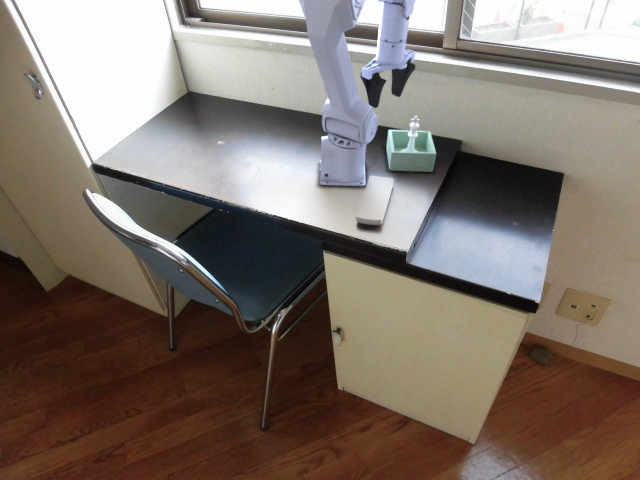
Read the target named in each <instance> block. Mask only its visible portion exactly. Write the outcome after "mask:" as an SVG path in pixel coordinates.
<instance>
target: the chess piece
mask: <svg viewBox="0 0 640 480" xmlns="http://www.w3.org/2000/svg"><path fill="white" fill-rule="evenodd" d="M420 120H421V119H420V118H418V115H414V117H413V118H412V117H411V122H410V123H409V130H411V132H409V133H408V136H409V137H410V140H409V143H408V146H407V148H406V149H402V150H401V151H413V152H418V151H417V150H415V149H414V141H415V138H416V137H417V136H418V134H417V133H416V131H418V130H419V128H420V124H419V123H418V122H421V121H420Z"/></svg>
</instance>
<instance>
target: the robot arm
mask: <svg viewBox="0 0 640 480" xmlns="http://www.w3.org/2000/svg"><path fill="white" fill-rule="evenodd" d="M298 2H299V6H300V8H301V9H300V10H301V12H302V15H303V17H304V18H305V24H306V30H307V31H306V32H307V37H308V41H309V43H310V46H311V51H312V53H313V56H314V60H315V62H316V66H317V68H318V71H319V73H320V74H319V75H320V77H321V80H322V83H323V87H324V89H325V92H326V96H327V99H326V100H325V102H324V103H323V106H322V108H321V111H320V114H321V125H322V130H323V131H324V132H325V133H327V135H324V136H321V140H320V141H321V142H320V161H318V162H319V163H318V169H319V171H320V180H319V181H320V182H319V183H320V185H321V186H339V187H340V186H343V187H344V186H345V187H366V186H367V179H366V165H365V164H366V163H365V162H366V152H367V145H368V144H369V143H371V142H372V141H373V139H374V138H375V136H376V133H377V131H378V126H379V118H378V114H377V113H376V112H374V109H377V108H379V105H380V101H381V96H382V92H383V89H384V87H385V84H386V82H387V80H386V79H385V78H383V77H381V75H380V74H381V73H383V72H385V71H391V90H390V91H391V95H393V96H395V97H397V98H400V97H401V96H402V94H403V92H404V89H405V87H406V84H407V82H408V80H409V78H410V77H411V76H412V74H413V73H414V71H415V70H416V67H417V66H416V64H415V63H414V61H415V57H416V51H414V50H413V49H409V48H407V49H406V46H407V39H408V32H409V25H410V16H411V15H412V14H413V12H414V8H415V3H416V0H377V2H378V3H380V15H379V24H378V33H377V42H376V43H377V45H376V53H375V54H376V55H375V57H374V58H373V59H372V60H371V61H369V63H367V64H366V65H365V66H363V67H362V68H361V72H360V79H361V81H362V83H363V85H364V88H365V92H366V95H367V96H366V97H367V101H365V100H364V99H362V97H360V94H359V91H358V86H357V81H356V78H355V74H354V73H355V72H354V69H353V65H352V61H351V56H350V51H349V48H348V43H347V39H346V35H345V32H347V31H350V30H353V29H354V28H355V27H356V25H357V22H358V20H359V18H360V16H361V13H362V10H363V7H364V5H365V2H366V0H298ZM412 62H413V63H412ZM373 108H374V109H373Z"/></svg>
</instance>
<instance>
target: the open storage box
mask: <svg viewBox="0 0 640 480" xmlns="http://www.w3.org/2000/svg"><path fill="white" fill-rule="evenodd" d="M387 130H388V131H387V138H386V146H385V148H386V155H387V163H388V171H393V172H394V171H395V172H421V173H422V172H423V173H425V172H426V173H432V172H433V171H434V166H435V162H436V159H437V158H436V157H437V151H436V148H435V144H434V140H433V136H432V132H431V130H417V131H416V133H417V134H418V136H417V137H416V138H415V141H414V149H415V150H417V151H418V152H413V151H401V150H402V149H406V148H407V146H408V143H409V140H410V137H409V136H408V133H409V132H411V129H409V130H408V129H387ZM414 167H415V168H414ZM416 167H417V168H416ZM419 167H420V168H419Z"/></svg>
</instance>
